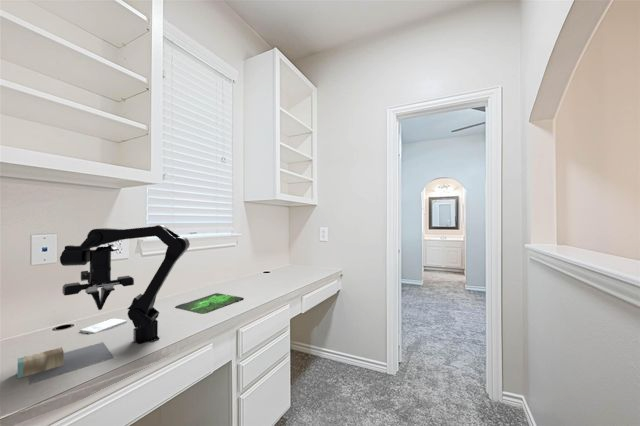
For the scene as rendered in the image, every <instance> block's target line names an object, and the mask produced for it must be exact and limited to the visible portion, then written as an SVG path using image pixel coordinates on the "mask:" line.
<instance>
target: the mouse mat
mask: <svg viewBox="0 0 640 426" xmlns="http://www.w3.org/2000/svg"><path fill="white" fill-rule="evenodd" d="M242 300H244V297H242V296H241V297H240V296H236V295H230V294H224V293H219V292H215V293H212V294H209V295H206V296H204V297H200V298H197V299H195V300H191V301H188V302H184V303H181V304H178V305H176V306H174V308H175V309H179V310H183V311H187V312H192V313H195V314H196V313H197V314H200V315H203V314H208V313H211V312H214V311H216V310H218V309H222V308H224V307H227V306H230V305H232V304H235V303H238V302H239V301H242Z"/></svg>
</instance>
